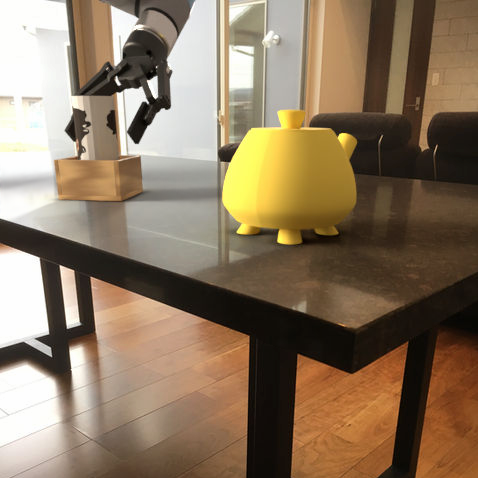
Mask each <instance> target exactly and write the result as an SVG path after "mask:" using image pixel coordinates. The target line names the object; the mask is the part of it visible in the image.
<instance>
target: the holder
mask: <svg viewBox="0 0 478 478" xmlns="http://www.w3.org/2000/svg"><path fill="white" fill-rule="evenodd" d="M53 164H54V165H53V166H54V173H55V181H56V189H57V196H58V200H60V201H62V200H64V201H98V202H99V201H100V202H101V201H103V202H123V201H126V200H128V199H130V198H132V197H134V196H136V195H139V194H141V193H143V192H144V187H143V186H144V184H143V171H142V170H143V169H142V156H141V155H129V154H128V155H127V154H124V155H123V154H119V160H116V161H115V160H78V155H73V156H67V157H63V158H57V159H53Z"/></svg>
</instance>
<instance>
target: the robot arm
mask: <svg viewBox="0 0 478 478" xmlns="http://www.w3.org/2000/svg"><path fill="white" fill-rule="evenodd" d="M98 1H99V2H100V3H103V4H107V5H109V6H110V7H113V8H115V9H117V10H120V11H122V12H123V13H126V14H129V15H131V16H133V17H135V18H137V21H136V22H135V24H134V26H133V27H132V29H131V32H130V34H129V35H128V37H127V39H126V41H125V42H124V45H123V46H122V49H121V51H122V52H121V53H122V55H121V56H122V58H121V60H120V62H118V63H117V65H113V64H112V63H111V62H110V61H106V62H104V63H103V65H102V66H101V68H100V69H99V70H98V72H97V73H95V74H94V75H93V77H91V78H90V79H89V80H88V81H87V82H86V83H85V84H84V85H83V86H82V87H81V88H80V89H78V90H77V91H76V92H75V93H74V94H73V95H72V96H114V95H116V94H117V93H118V94H120V93H122V92H124V91H125V90H131V89H134V90H138V89H140V88H142V90H143V93H144V95H145V99H146V100H145V101H141V103H140V105H139V107H138V109H137V111H136V113H135V115H134V117H133V119H132V120H131V123H130V125H129V126H128V128H127V130H126V134H127V135H128V136H129V138H130V139H131V141H132V142H133V144H135V145H140V143H141V140H142V139H143V136H144V135H145V133H146V131H147V129H148V127H150V126H151V124H153V122H154V120H155V118H156V116H157V114H158V113H160V112H161V110H163V109H164V110H165V111H169V110H170V109H171V108H172V96H171V77H172V75H173V70H172V67H171V65H170V63H169V62H168V58H169V57H170V55H171V54H172V53H171V52H172V51H173V49H174V47H175V46H176V43H177V41H178V39H179V37H180V35H181V33H182V31H183V29H185V26H186V24H187V22H188V21H189V20H190V18H191V14H192V11H193V9H194V6H195V5H196V2H197V0H98ZM154 78H156V79H157V82H156V83H157V96H156V94H155V91H154V88H153V85H152V83H151V80H152V79H154ZM116 79H117V81H118V83H119V84H118V83H117V81H116ZM70 99H71V100H72V98H71V97H70ZM63 131H64V132H65V134H66V135H67V136H68V137H69V138H70V139H71V141H72V142H73V143H76V134H75V125H74V116H73V113H72V114H71V116H70V120H69V122H68V124H67V125H66V127H65V128H64V130H63Z"/></svg>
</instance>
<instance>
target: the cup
mask: <svg viewBox="0 0 478 478" xmlns="http://www.w3.org/2000/svg"><path fill="white" fill-rule="evenodd" d="M71 98H72V99H71ZM70 99H71V106H72V114H73V116H74V125H75V134H76V142H75V143H76V150H77V151H76V153H77V156H78V160H115V161H116V160H119V155H120V154H119V143H118V131H117V120H116V119H117V118H116V106H115V96H114V95H112V96H73V95H71V97H70Z"/></svg>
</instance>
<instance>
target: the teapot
mask: <svg viewBox="0 0 478 478" xmlns="http://www.w3.org/2000/svg"><path fill="white" fill-rule="evenodd" d="M306 114H307V111H306V110H303V109H280V110H278V111H277V116H278V120H279V123H280V127H279V126H278V127H277V126H275V127H252V128H251V129H249V130H248V131H247V133H246V134H245V136H244V138H243V139H242V141H241V142H240V144H239V146H238V148H236V151H235V153H234V155H233V156H232V158H231V161H230V163H229V165H228V168H227V171H226V173H225V177H224V181H223V187H222V204H223V206H224V207H225V209H226V210H227V211H228V213H229V214H230V216H232V217H233V218H234V220H235V221H237V222H239V223H240V227H239V228H238V229H237V230H236V233H237V234H240V235H257V234H259V233H260V232H261V230H262V228H264V229H271V230H272V229H273V230H278V233H277V243H279V244H281V245H298V244H302V243H303V238H302V232H301V231H302V230H314V232H315V234H317V235H321V236H336V235H338V234H339V232H338V230H337V228H336V227H335V226H336V225H339V224H340V223H342V221H344V220H345V218H347V217H348V215H349V214H350V213H351V212H352V211H353V210H354V208H355V206H356V204H357V195H358V193H357V183H356V176H355V174H354V170H353V167H352V164H351V161H350V160H351V157H352V156H353V153H354V151H355V149H356V147H357V144H358V140H357V138H356V137H355V136H354V135H352V134H349V133H343V132H342V133H339V135H337V134H336V132H335V131H334V130H332V128H328V127H302V125H303V123H304V120H305V117H306Z"/></svg>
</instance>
